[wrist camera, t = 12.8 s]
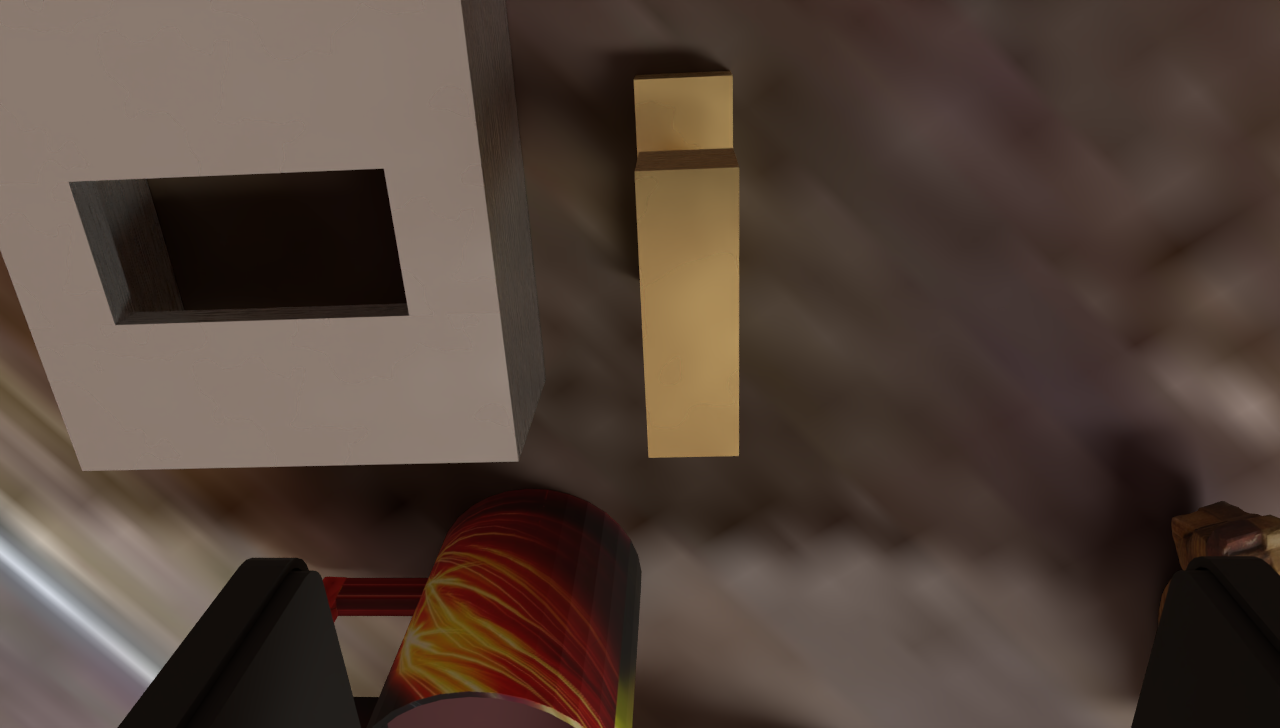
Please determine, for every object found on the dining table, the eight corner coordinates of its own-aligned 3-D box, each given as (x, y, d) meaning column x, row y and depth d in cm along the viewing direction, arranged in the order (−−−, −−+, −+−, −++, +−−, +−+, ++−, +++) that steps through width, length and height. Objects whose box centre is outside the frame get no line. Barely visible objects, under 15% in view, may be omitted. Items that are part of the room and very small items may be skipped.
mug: (326, 563, 41) (198, 778, 30) (581, 457, 38) (541, 653, 27) (434, 701, 44) (354, 939, 33) (675, 614, 41) (674, 844, 30)
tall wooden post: (730, 70, 31) (768, 141, 18) (730, 281, 34) (763, 473, 21) (635, 74, 31) (604, 148, 18) (645, 284, 34) (625, 475, 21)
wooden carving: (1111, 484, 37) (1251, 649, 28) (1223, 455, 36) (1404, 614, 27) (1157, 745, 43) (1284, 949, 34) (1253, 725, 43) (1409, 928, 34)
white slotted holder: (501, -38, 30) (455, -41, 24) (545, 379, 36) (518, 461, 30) (58, -13, 31) (-96, -10, 24) (180, 389, 37) (82, 470, 31)
